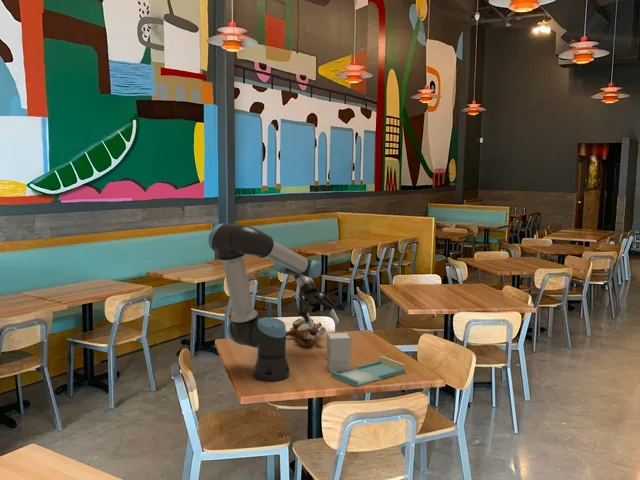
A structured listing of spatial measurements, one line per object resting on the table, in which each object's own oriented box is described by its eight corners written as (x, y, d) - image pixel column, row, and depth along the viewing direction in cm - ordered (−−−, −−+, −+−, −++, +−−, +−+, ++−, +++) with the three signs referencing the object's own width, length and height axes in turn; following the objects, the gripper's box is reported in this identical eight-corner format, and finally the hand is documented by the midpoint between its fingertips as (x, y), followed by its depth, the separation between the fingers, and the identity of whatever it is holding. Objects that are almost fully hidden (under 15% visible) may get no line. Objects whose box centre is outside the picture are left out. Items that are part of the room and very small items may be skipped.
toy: (295, 335, 271) (271, 322, 298) (298, 355, 273) (275, 341, 299) (335, 322, 280) (309, 311, 307) (338, 343, 282) (311, 329, 309)
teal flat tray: (355, 387, 226) (355, 377, 225) (331, 376, 237) (331, 367, 237) (405, 372, 243) (405, 364, 243) (380, 363, 255) (381, 355, 254)
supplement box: (346, 365, 253) (346, 332, 251) (350, 371, 244) (351, 337, 242) (326, 366, 251) (326, 332, 250) (329, 372, 242) (330, 338, 241)
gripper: (325, 287, 275) (343, 324, 265) (280, 293, 261) (298, 334, 251) (332, 278, 270) (350, 316, 259) (286, 284, 256) (304, 325, 246)
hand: (325, 325), depth 255 cm, fingers open, 13 cm apart
